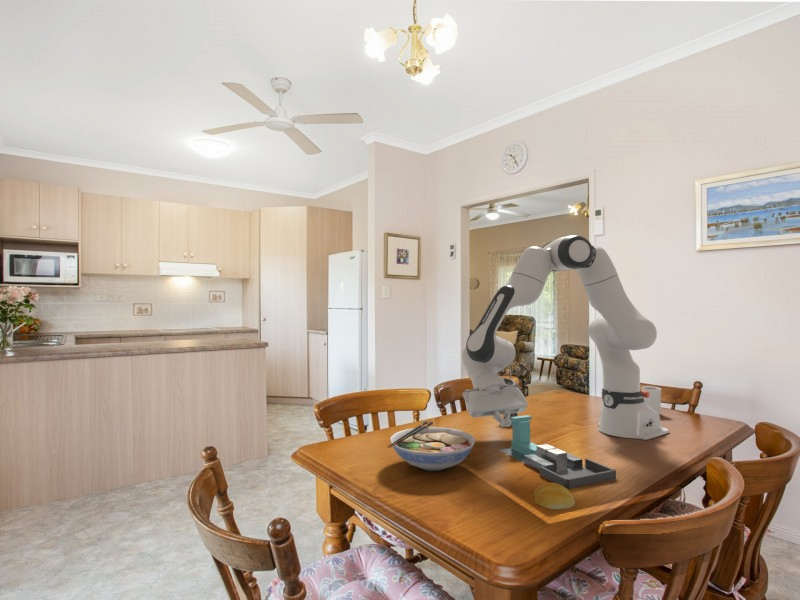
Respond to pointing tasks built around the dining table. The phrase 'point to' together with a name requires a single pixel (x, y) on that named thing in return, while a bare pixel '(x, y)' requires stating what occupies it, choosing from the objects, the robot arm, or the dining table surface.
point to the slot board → (542, 460)
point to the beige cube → (543, 450)
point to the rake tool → (522, 436)
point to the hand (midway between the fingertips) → (507, 425)
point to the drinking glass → (653, 398)
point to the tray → (580, 475)
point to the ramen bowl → (432, 446)
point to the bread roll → (553, 496)
